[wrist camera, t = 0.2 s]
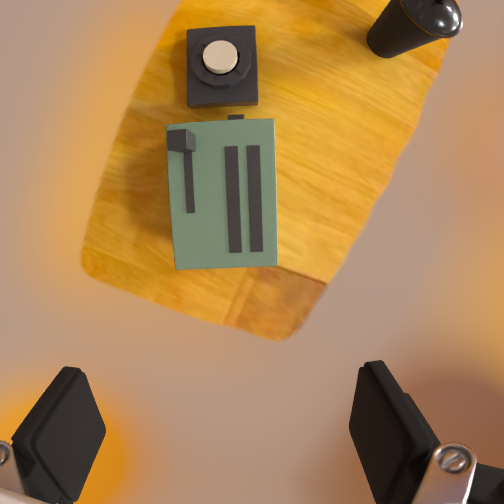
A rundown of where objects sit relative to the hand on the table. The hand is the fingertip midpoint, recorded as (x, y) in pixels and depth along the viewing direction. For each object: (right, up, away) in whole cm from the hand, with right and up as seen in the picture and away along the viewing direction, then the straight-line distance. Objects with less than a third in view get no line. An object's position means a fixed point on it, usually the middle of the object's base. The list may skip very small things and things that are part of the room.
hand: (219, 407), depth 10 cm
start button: (-2, +26, +21) cm, 34 cm away
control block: (-2, +27, +25) cm, 37 cm away
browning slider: (-5, +15, +18) cm, 24 cm away
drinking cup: (+18, +33, +24) cm, 45 cm away
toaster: (-2, +13, +29) cm, 31 cm away
